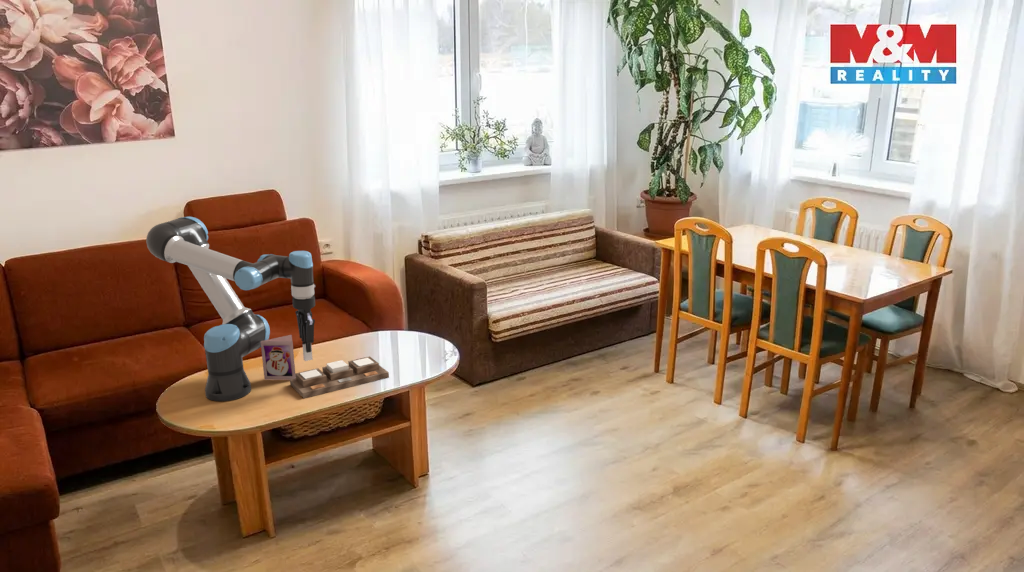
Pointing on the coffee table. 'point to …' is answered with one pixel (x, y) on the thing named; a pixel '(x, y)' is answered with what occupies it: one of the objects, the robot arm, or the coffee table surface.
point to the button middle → (337, 366)
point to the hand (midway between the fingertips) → (308, 359)
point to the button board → (338, 379)
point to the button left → (310, 374)
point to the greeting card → (278, 358)
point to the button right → (363, 362)
